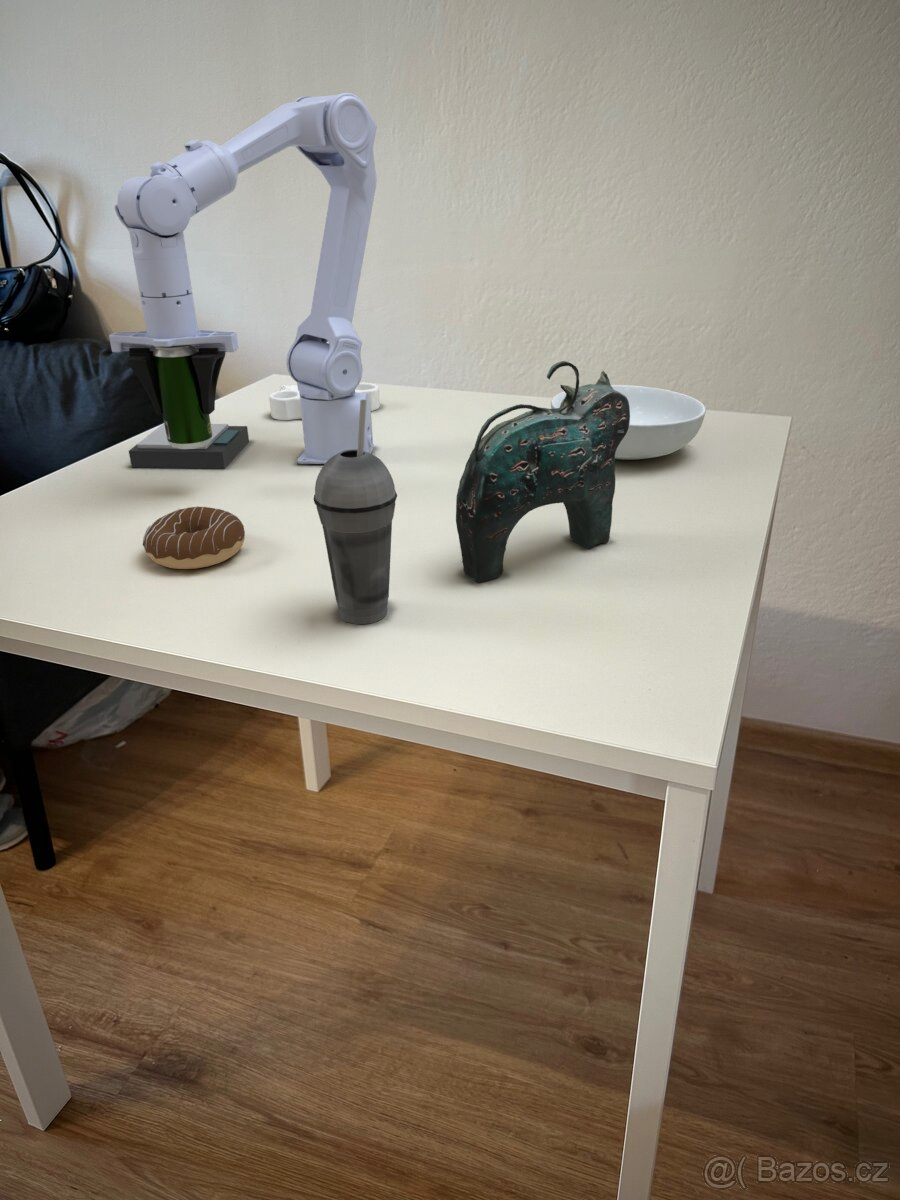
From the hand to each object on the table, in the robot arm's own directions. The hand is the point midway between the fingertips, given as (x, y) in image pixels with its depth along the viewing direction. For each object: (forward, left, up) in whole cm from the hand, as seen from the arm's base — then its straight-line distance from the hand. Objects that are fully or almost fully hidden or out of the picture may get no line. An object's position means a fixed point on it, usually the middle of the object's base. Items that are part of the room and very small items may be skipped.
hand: (185, 411), depth 104 cm
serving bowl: (-55, -19, -10) cm, 59 cm away
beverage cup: (-26, +30, -10) cm, 41 cm away
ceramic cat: (-43, +17, -10) cm, 48 cm away
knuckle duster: (-8, -39, -10) cm, 41 cm away
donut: (-6, +18, -10) cm, 22 cm away
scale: (+6, -15, -10) cm, 19 cm away
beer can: (0, 0, -4) cm, 4 cm away
